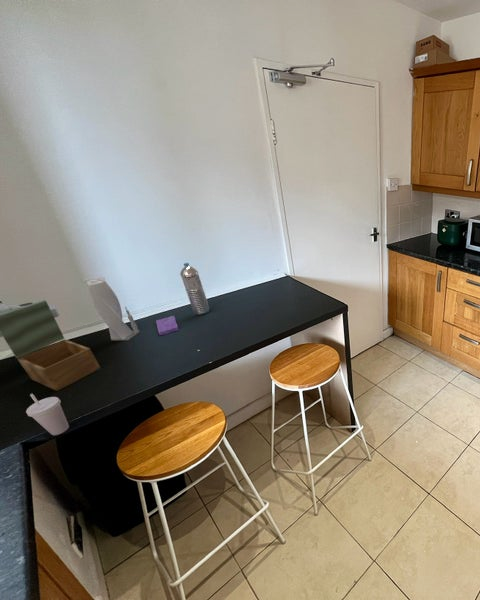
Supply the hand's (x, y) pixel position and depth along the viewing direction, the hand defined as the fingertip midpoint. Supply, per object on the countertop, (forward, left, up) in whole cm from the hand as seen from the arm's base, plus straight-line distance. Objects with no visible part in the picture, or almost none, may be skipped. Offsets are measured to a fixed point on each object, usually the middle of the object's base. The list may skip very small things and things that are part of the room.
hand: (28, 327), depth 105 cm
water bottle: (+40, +33, -18) cm, 55 cm away
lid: (+1, 0, -1) cm, 1 cm away
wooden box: (+6, -4, -18) cm, 19 cm away
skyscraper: (+14, +18, -18) cm, 29 cm away
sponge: (+29, +22, -18) cm, 40 cm away
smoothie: (+20, -33, -18) cm, 42 cm away
